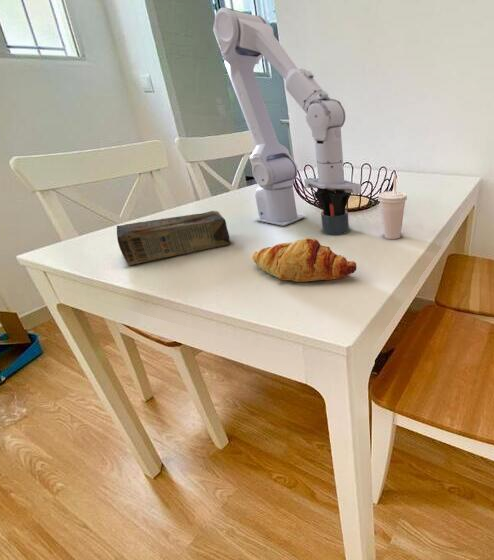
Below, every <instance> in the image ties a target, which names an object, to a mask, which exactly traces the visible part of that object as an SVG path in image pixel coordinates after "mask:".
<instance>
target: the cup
mask: <svg viewBox="0 0 494 560" xmlns="http://www.w3.org/2000/svg"><path fill="white" fill-rule="evenodd" d="M320 217H321V227H322V232H323V233H324V234H325V235H330V236H338V235H344V234H346V233H348V232H349V231H350V226H349V225H350V224H349V212H348V210H347V209H345V212H344V214H342V215H338V216H328V215H325V214H324V211H323V210H322V211H321V212H320Z"/></svg>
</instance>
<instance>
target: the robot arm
mask: <svg viewBox="0 0 494 560" xmlns="http://www.w3.org/2000/svg"><path fill="white" fill-rule="evenodd" d="M212 27H213V28H212V31H213V34H214V36H215V39H216V43H217V44H218V47H219V50H220V53H221V55H222V59H223V61H224V66H225V68H226V69H225V70H226V72H227V75H228V77H229V79H230V83H231V85H232V88H233V90H234V93H235V96H236V98H237V101H238V103H239V104H238V105H239V107H240V109H241V113H242V115H243V117H244V120H245V123H246V125H247V128H248V131H249V134H250V136H251V139H252V142H253V144H254V147H255V148H254V149H253V151H252V153H251V155H249V161H250V164H251V172H252V177H253V180H254V182H256V184H257V185H259V186H258V187H257V188H256V190H255V202H256V206H257V207H256V208H257V212H258V218H257V219H256V220H257V222H262V223H267V224H271V225H276V226H280V227H281V226H282V227H285V226H288V225H290V224H293V223H296V222H297V221H299V220H302V219H305V215H302V214H298V213H297V206H296V199H295V198H296V197H295V192H294V184H295V180H296V179H297V177H298V171H299V170H298V165H297V163H296V161H295V160H294V159H293V157H292V156H291V154H290V151H289V149H288V148H287V147H286V146H285V145H283V144H281V143H280V142H279V140H278V136H277V134H276V132H275V128H274V126H273V123H272V120H271V117H270V114H269V112H268V108H267V106H266V103H265V100H264V97H263V94H262V91H261V88H260V86H259V82H258V80H257V77H256V74H255V71H254V69H255V67H256V65H258V64H259V62H260V61H261V60H262V57H263V58H264V59H265V60H266V61H267V62H268V63H269V64H270V65H271V66H272V67H273V69H275V71H276V72H278V74H279V75H280V76H281V77H282V78H283V79H284V80H285V89H286V91H287V92H288V93H289V95H290V96H291V97H292V98H293V99H294V101H295V103H297V104H298V106H299V107H300V108H301V109H302V110H303V111H304V113H305V114H306V115H305V120H306V123H307V125H308V127H309V129H310V130H311V137H312V138H313V140H314V147H315V148H314V149H315V157H316V166H317V167H316V169H317V175H318V176H317V177H318V178H316V177H308V178H304V181H303V182H304V188H306V189H310V188H311V189H316V191H314V192H313V196H314V197H315V199H316V200H317V201H318V204H320V207H321V208H322V211H324V214H325V215H328V216H330V206H329V204H331V203H332V204H333V208H334V215H335V216H338V215H342V214H344V212H345V210H346V207H347V205H348V203H349V202H348V201H349V199H350V197H351V196H352V194H353V195H355V196H357V195H360V194H362V184H361V183H356V182H352V181H348V180H346V179H345V169H344V155H343V154H344V153H343V139H342V127H343V126H344V124H345V122H346V111H345V108H344V106H343V105H342V103H341V102H340V100H338V99H336V98H331V97H330V96H329V93H328V92H327V91H326V90H324V89H323V88H322V87H321V86H320V84H319V83H318V82H317V81H316V80H315V78H314V77H315V75H314V74H313V72H312V71H311V70H307V69H305V68H298V67H297V65H296V64H295V62H294V61H293V59H292V58H291V57H290V55H289V54H288V53H287V51H286V50H285V48H283V47H284V46H282V45H281V43H280V42H279V40H278V39H277V38H276V36H275V35H274V34H275V33H274V28H273V27H272V26H271V25H270V24H269V23H268V21H267V20H266V19H265V18H264V17H263V16H261V15H257V14H250V13H245V12H242V11H237V10H232V9H231V8H228V7H221V8H219V9H218V10H217V11H216V14H215V17H214V22H213V26H212Z"/></svg>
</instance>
